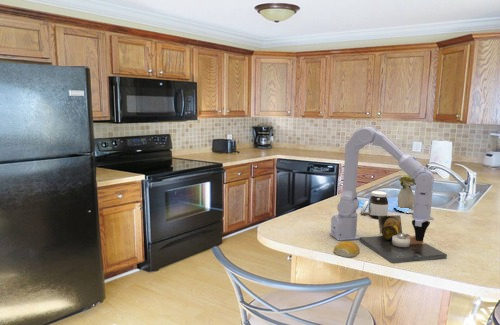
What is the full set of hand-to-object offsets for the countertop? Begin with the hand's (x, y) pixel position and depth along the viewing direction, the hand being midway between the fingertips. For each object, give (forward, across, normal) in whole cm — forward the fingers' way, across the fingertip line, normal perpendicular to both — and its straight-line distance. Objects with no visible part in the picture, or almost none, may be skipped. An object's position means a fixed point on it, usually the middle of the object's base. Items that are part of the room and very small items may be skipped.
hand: (419, 240), depth 135 cm
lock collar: (+1, -1, +4) cm, 4 cm away
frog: (+4, +56, +13) cm, 57 cm away
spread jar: (+4, +36, +25) cm, 44 cm away
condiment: (-1, +11, +12) cm, 16 cm away
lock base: (+3, -3, +6) cm, 7 cm away
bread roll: (+4, -18, +21) cm, 28 cm away
